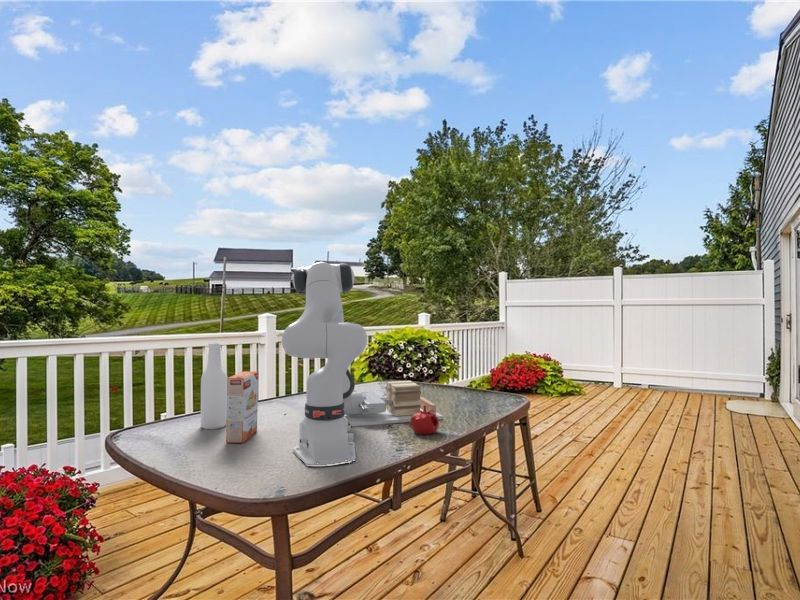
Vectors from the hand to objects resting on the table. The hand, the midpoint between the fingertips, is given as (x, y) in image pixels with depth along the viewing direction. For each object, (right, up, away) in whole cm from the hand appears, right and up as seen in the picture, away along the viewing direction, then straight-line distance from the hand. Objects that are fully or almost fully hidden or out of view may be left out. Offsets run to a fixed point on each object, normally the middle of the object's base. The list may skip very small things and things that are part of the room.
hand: (390, 400), depth 180 cm
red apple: (+12, -6, -21) cm, 25 cm away
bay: (0, -6, 0) cm, 6 cm away
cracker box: (-49, -6, -29) cm, 57 cm away
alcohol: (-63, -6, -17) cm, 66 cm away
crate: (+5, -4, +2) cm, 7 cm away
